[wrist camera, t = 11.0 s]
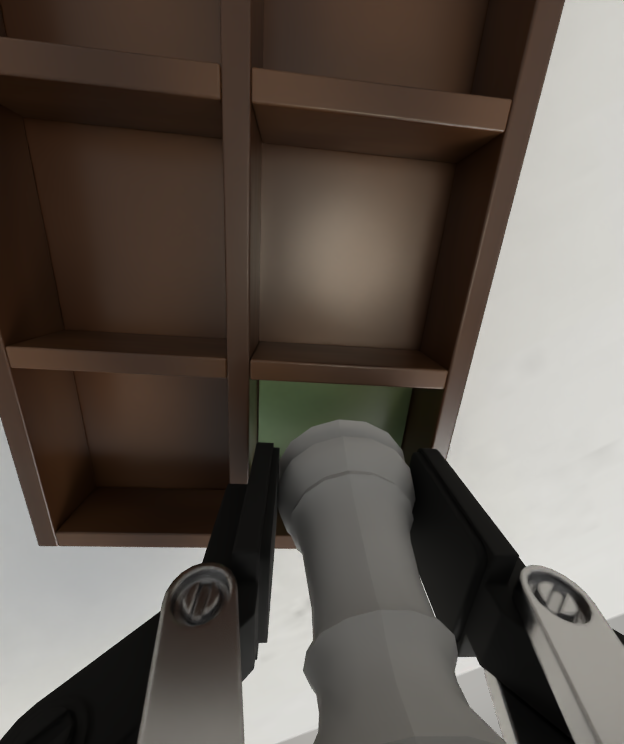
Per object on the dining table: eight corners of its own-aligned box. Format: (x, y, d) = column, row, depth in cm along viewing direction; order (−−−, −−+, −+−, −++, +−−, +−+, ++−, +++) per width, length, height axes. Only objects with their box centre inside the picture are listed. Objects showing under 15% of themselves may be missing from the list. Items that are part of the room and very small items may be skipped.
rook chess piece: (269, 418, 10) (178, 912, 2) (403, 406, 10) (739, 844, 2) (283, 523, 11) (257, 1031, 4) (400, 511, 11) (602, 987, 4)
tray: (91, 488, 14) (38, 546, 11) (-68, -283, 7) (-330, -678, 4) (399, 496, 15) (423, 550, 12) (536, -167, 8) (674, -414, 5)
